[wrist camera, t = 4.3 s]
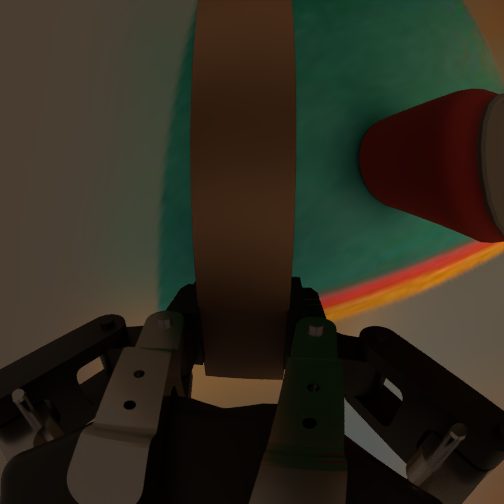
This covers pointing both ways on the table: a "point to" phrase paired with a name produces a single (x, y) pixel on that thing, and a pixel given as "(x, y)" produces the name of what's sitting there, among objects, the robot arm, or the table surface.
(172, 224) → the table surface
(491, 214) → the beer can
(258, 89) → the walnut plank
